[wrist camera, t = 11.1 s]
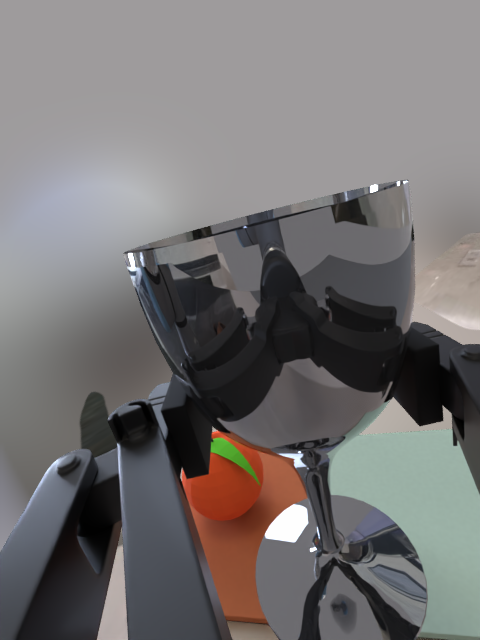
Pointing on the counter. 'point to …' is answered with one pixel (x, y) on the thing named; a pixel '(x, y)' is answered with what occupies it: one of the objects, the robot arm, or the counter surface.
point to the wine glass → (301, 386)
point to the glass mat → (424, 515)
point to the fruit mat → (246, 540)
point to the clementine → (226, 481)
